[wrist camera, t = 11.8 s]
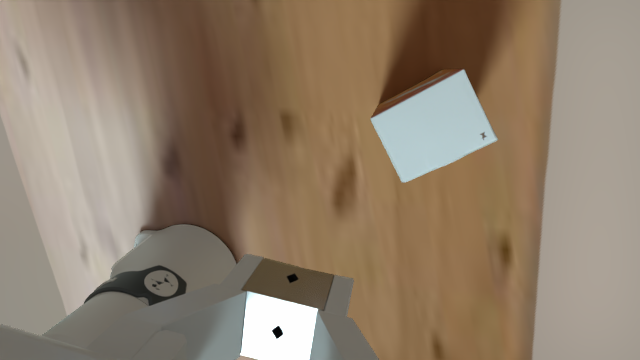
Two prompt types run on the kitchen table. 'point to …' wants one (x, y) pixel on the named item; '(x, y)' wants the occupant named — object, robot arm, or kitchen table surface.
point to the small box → (432, 124)
